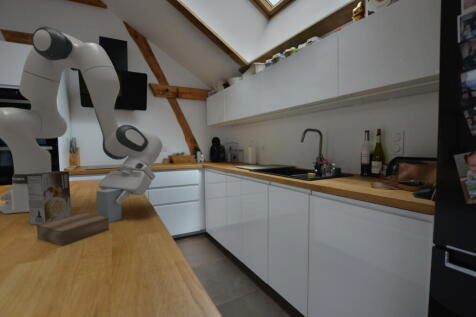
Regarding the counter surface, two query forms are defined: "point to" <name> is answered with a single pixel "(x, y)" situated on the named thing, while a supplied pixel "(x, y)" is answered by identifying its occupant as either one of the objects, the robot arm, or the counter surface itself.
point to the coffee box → (48, 196)
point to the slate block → (108, 204)
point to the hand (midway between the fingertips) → (110, 202)
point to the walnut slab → (72, 228)
